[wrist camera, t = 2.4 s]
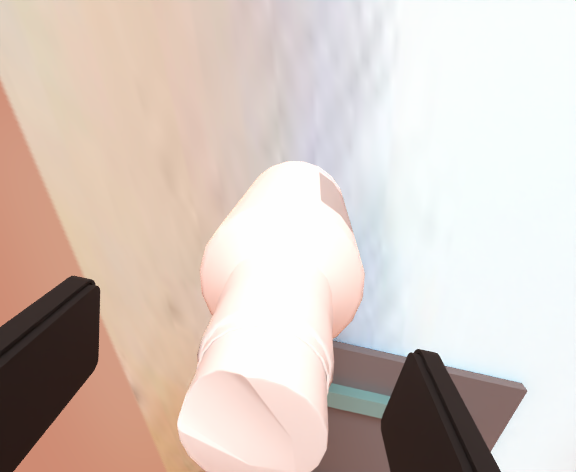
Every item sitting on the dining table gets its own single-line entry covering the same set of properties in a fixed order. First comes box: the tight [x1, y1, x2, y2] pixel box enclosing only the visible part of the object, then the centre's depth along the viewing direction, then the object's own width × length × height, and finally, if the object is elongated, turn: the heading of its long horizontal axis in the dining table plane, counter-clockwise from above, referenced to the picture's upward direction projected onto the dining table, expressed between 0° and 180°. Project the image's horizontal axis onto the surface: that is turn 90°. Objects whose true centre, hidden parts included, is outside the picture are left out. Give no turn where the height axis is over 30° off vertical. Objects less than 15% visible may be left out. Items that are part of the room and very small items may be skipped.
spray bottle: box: [177, 161, 365, 472], centre depth 16 cm, size 7×7×18 cm
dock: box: [311, 341, 527, 472], centre depth 31 cm, size 20×20×2 cm
